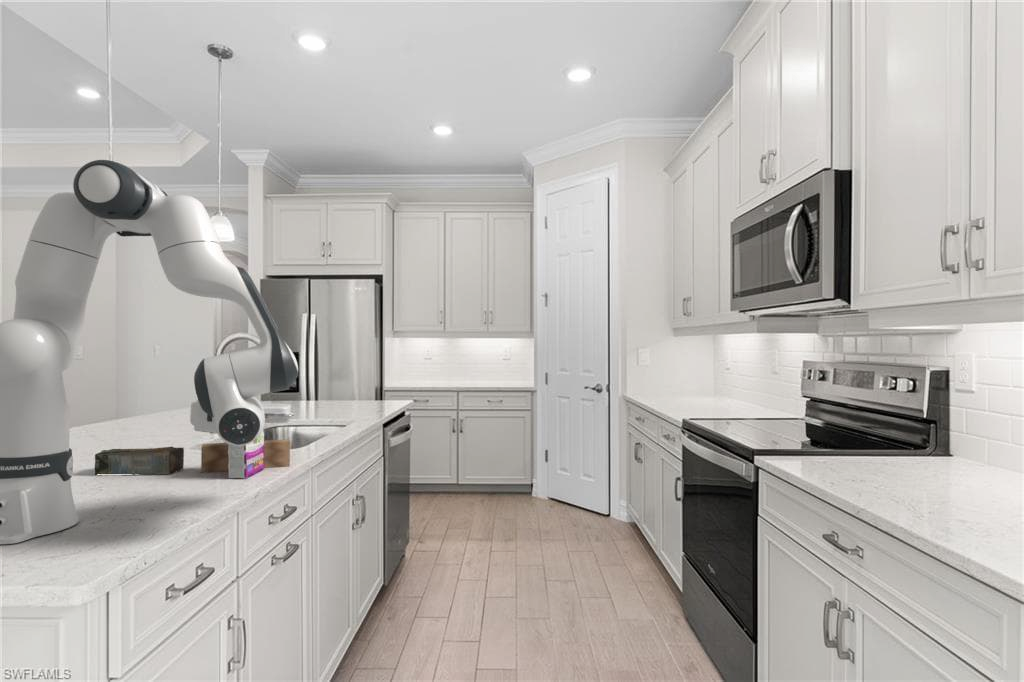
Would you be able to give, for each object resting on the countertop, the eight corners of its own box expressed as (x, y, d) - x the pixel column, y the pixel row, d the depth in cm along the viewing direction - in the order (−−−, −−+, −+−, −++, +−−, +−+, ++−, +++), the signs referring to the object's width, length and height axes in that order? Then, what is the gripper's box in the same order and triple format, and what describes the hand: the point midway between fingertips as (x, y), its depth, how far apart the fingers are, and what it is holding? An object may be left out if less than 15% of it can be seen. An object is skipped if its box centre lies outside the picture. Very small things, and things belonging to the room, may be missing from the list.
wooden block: (201, 472, 154) (201, 446, 154) (202, 469, 158) (202, 443, 158) (289, 466, 163) (289, 441, 163) (288, 463, 167) (289, 439, 167)
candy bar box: (246, 469, 159) (247, 409, 159) (264, 469, 159) (265, 409, 159) (226, 479, 148) (226, 414, 148) (245, 479, 148) (246, 415, 148)
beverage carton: (111, 470, 157) (111, 445, 157) (185, 469, 159) (185, 445, 159) (93, 476, 149) (93, 451, 149) (171, 476, 151) (171, 451, 151)
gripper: (295, 401, 125) (291, 396, 138) (187, 399, 117) (194, 393, 130) (293, 431, 125) (290, 422, 138) (185, 431, 117) (192, 422, 130)
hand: (242, 408), depth 134 cm, fingers closed
